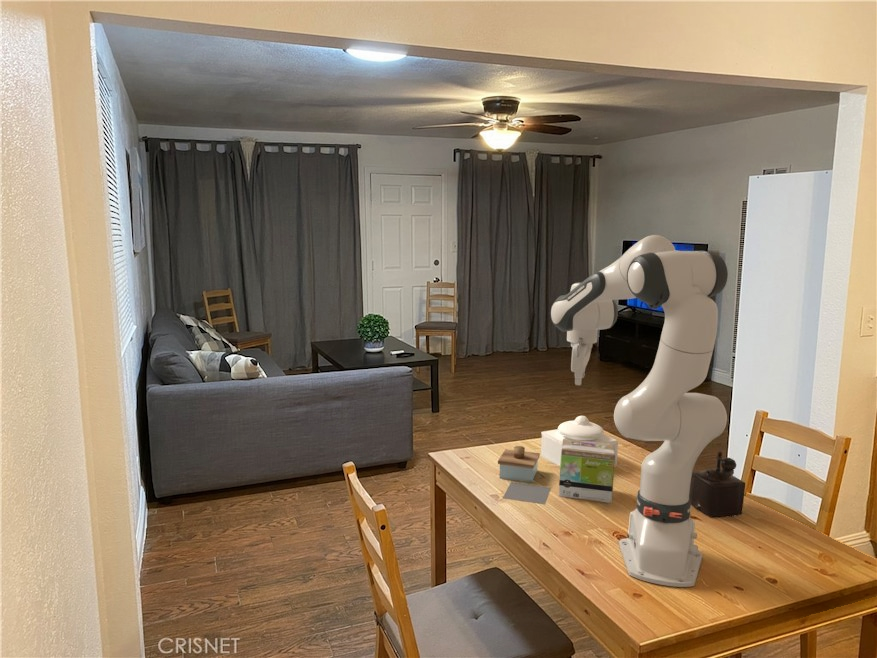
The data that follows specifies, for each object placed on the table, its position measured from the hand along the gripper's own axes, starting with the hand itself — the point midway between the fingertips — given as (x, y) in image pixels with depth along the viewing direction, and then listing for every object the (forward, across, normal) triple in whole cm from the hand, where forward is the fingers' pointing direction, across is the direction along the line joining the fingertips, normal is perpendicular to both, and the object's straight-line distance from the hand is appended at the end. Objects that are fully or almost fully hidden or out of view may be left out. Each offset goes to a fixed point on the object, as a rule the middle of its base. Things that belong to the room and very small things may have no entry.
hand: (579, 381), depth 189 cm
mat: (+31, -16, +12) cm, 37 cm away
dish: (+31, -3, +17) cm, 36 cm away
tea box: (+31, -10, -4) cm, 33 cm away
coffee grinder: (+31, -10, -40) cm, 52 cm away
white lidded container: (+32, +16, +1) cm, 35 cm away
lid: (+26, -3, +17) cm, 31 cm away
